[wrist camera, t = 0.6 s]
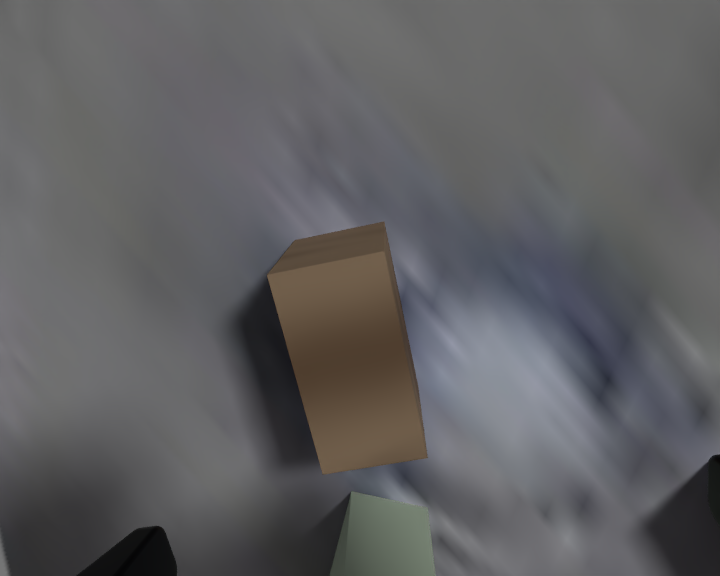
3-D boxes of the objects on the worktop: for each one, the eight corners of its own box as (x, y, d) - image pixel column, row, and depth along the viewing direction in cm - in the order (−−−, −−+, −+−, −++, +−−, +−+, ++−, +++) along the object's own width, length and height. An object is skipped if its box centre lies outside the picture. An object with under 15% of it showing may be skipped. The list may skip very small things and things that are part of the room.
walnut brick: (417, 384, 21) (427, 457, 17) (336, 398, 22) (323, 474, 17) (384, 221, 19) (384, 250, 15) (295, 239, 20) (266, 275, 15)
